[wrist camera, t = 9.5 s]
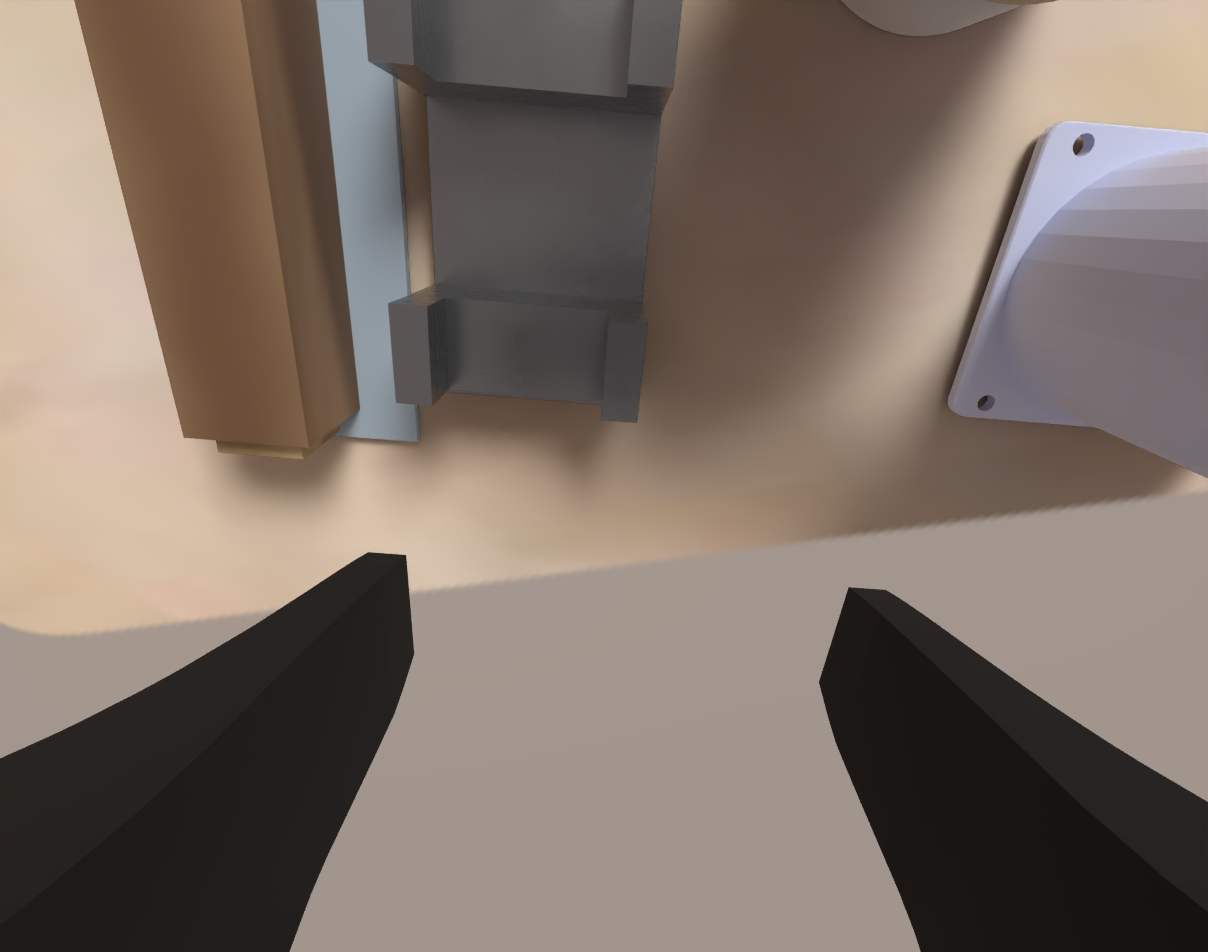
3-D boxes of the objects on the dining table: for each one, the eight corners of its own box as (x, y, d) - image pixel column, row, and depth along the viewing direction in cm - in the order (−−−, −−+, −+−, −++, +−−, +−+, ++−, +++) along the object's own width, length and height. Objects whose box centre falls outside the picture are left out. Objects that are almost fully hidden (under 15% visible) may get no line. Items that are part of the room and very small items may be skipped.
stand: (674, -32, 14) (697, -133, 10) (630, 399, 19) (633, 452, 15) (429, -55, 14) (350, -164, 10) (446, 384, 19) (398, 433, 14)
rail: (305, -105, 13) (210, -200, 10) (362, 425, 19) (312, 468, 16) (158, -118, 13) (19, -218, 10) (259, 417, 19) (189, 457, 16)
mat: (388, -58, 14) (383, -64, 14) (419, 438, 19) (417, 442, 19) (99, -84, 14) (88, -90, 14) (213, 422, 19) (207, 425, 19)
